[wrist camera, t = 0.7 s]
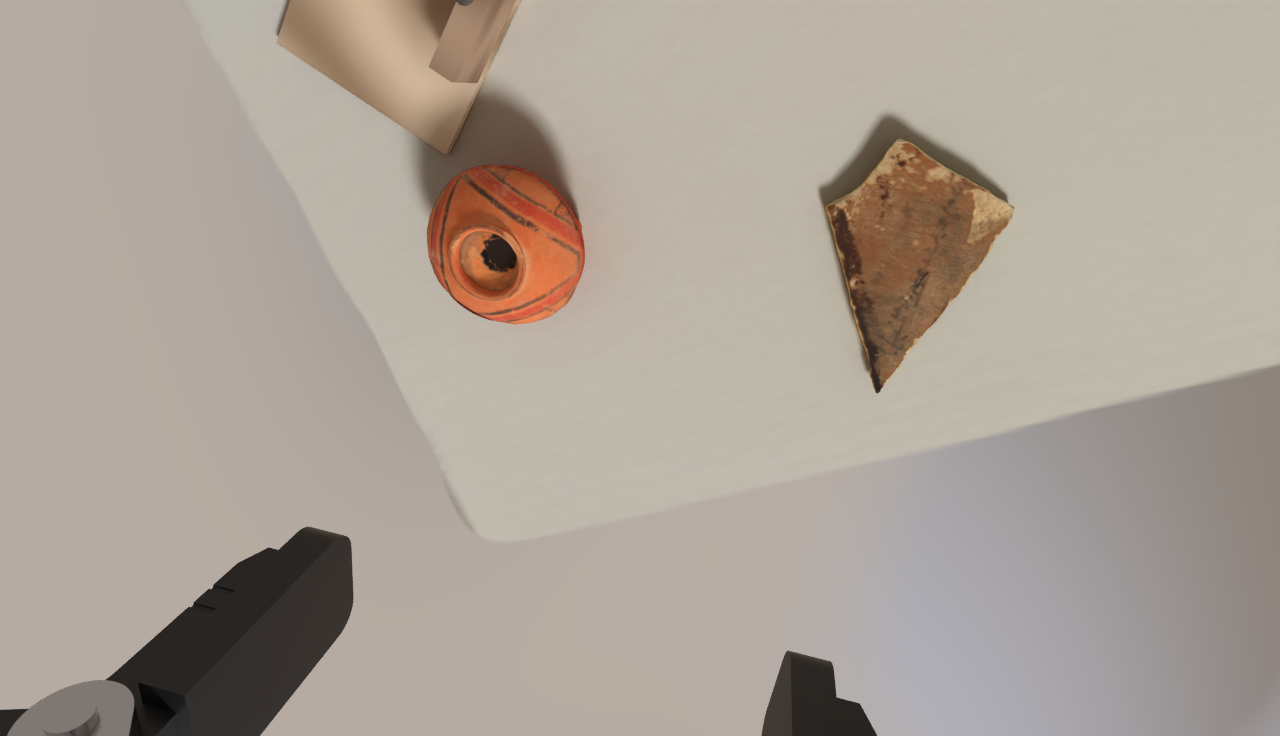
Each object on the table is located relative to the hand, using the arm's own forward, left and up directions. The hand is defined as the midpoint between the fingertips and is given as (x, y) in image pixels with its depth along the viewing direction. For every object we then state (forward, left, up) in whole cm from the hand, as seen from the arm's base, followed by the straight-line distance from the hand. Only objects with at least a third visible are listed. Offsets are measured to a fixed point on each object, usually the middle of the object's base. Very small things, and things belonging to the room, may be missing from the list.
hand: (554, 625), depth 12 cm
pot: (+3, -9, -26) cm, 27 cm away
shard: (-7, +9, -26) cm, 29 cm away
